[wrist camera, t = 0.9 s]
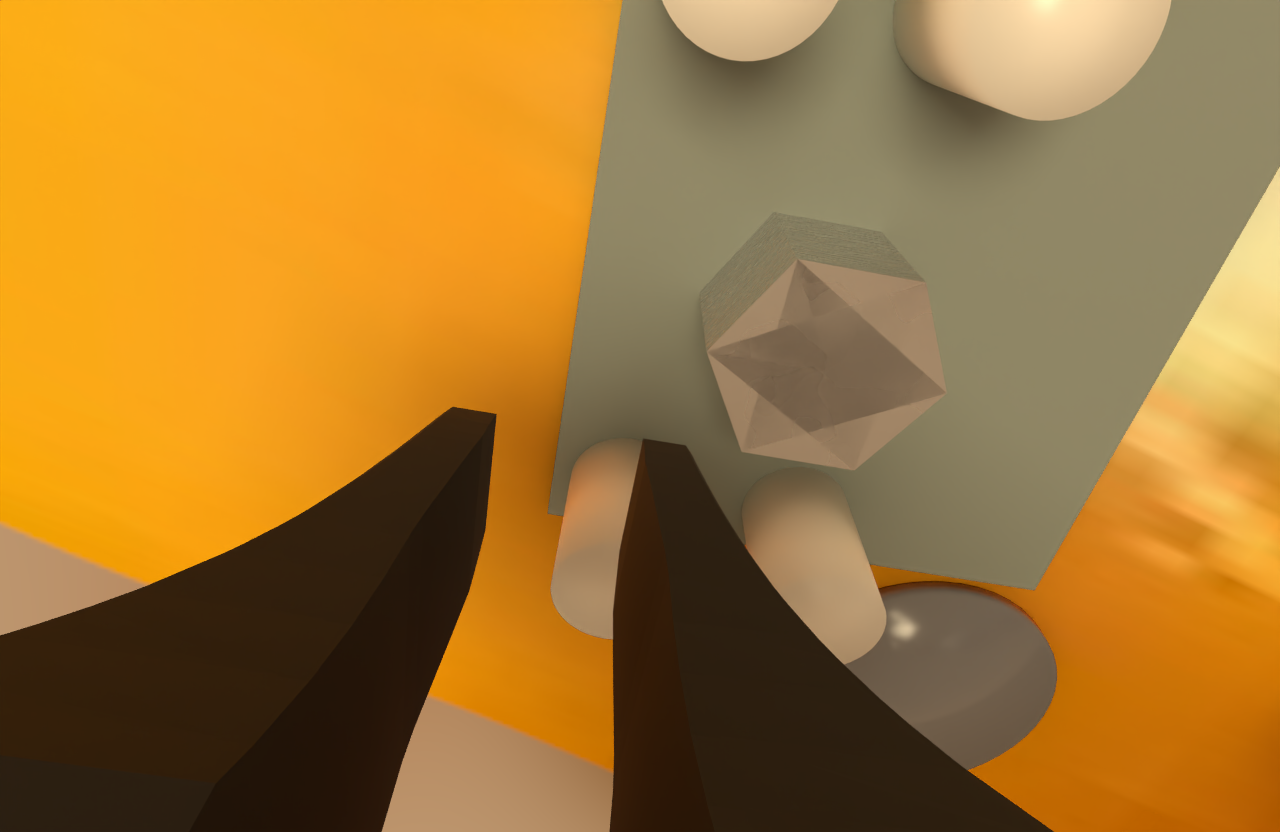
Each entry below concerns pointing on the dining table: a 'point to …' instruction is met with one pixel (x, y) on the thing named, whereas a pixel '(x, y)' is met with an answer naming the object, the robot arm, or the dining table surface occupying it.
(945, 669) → the grey round coaster
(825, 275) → the faceted crystal gem
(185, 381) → the dining table surface
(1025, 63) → the beige capsules
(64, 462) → the dining table surface
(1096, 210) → the mat
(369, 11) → the dining table surface
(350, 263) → the dining table surface
